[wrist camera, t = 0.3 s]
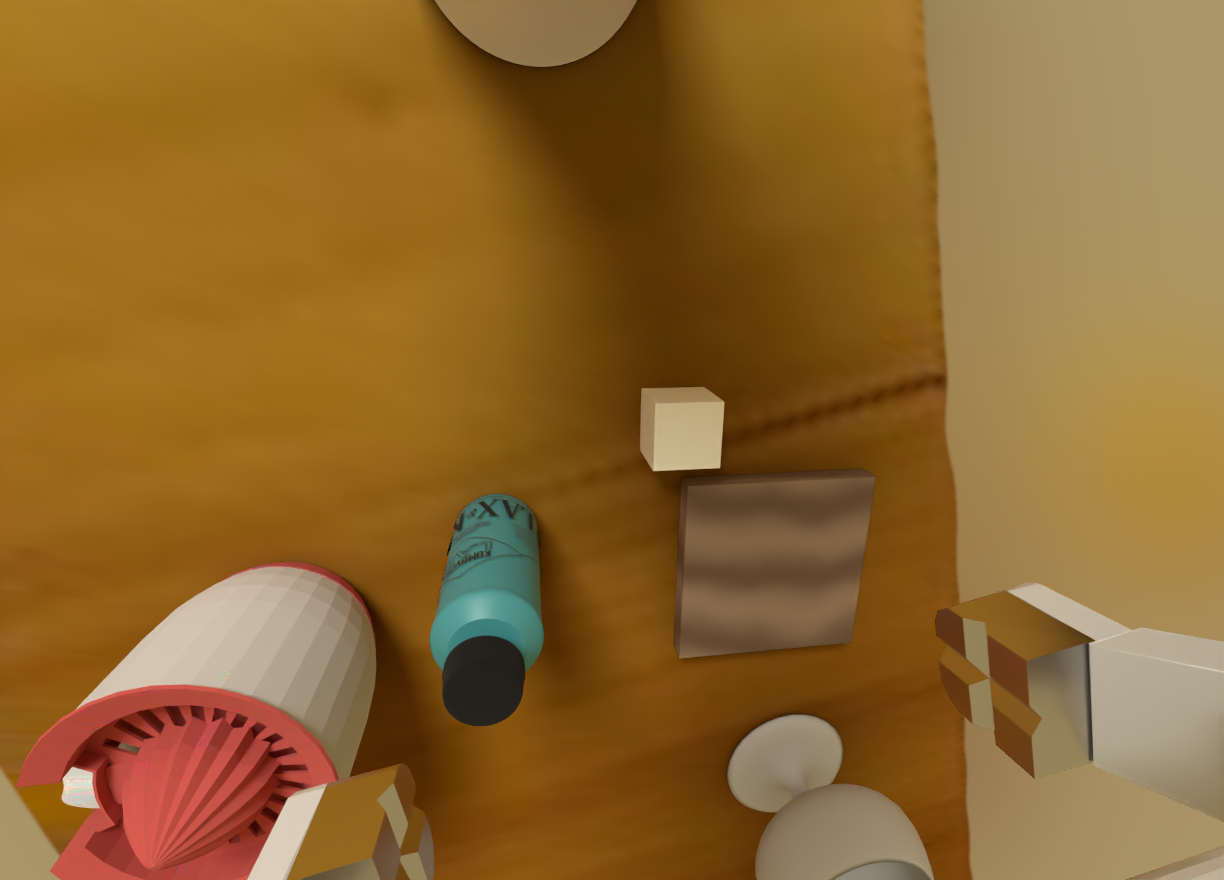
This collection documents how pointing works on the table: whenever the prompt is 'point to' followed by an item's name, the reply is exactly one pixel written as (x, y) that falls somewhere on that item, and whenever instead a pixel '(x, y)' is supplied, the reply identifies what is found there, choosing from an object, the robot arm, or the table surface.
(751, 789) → the chalice
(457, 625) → the beverage bottle
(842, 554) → the walnut base
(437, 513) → the table surface
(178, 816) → the citrus juicer
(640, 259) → the table surface
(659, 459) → the off-white cube
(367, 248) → the table surface
